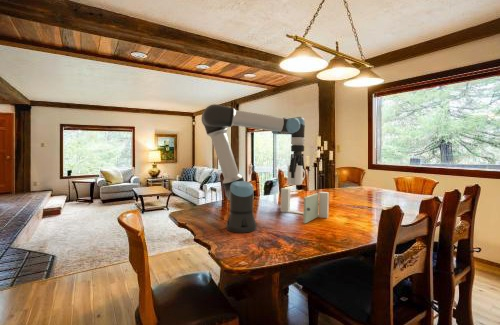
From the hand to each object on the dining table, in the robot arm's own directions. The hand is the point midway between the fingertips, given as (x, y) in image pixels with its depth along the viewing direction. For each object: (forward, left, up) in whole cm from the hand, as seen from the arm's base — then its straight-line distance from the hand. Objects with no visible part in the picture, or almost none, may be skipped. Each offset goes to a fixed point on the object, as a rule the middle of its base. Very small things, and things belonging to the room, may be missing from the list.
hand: (296, 182), depth 156 cm
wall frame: (0, +11, -21) cm, 24 cm away
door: (+10, 0, -21) cm, 23 cm away
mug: (0, +1, -1) cm, 1 cm away
